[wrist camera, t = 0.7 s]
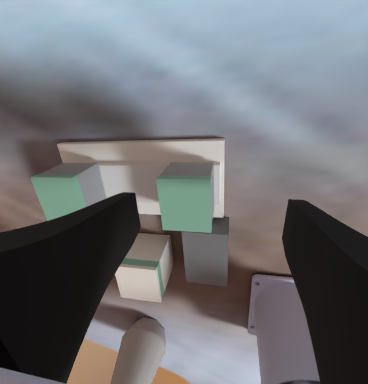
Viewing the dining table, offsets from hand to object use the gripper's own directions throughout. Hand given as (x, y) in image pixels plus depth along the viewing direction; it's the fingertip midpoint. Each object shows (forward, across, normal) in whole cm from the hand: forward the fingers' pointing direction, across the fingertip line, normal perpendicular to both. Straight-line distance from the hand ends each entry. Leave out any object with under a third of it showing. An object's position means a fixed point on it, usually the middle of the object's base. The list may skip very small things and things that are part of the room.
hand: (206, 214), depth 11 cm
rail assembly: (+9, +7, +2) cm, 12 cm away
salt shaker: (+9, +9, +24) cm, 28 cm away
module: (+9, +7, +10) cm, 15 cm away
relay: (+9, +1, +9) cm, 13 cm away
